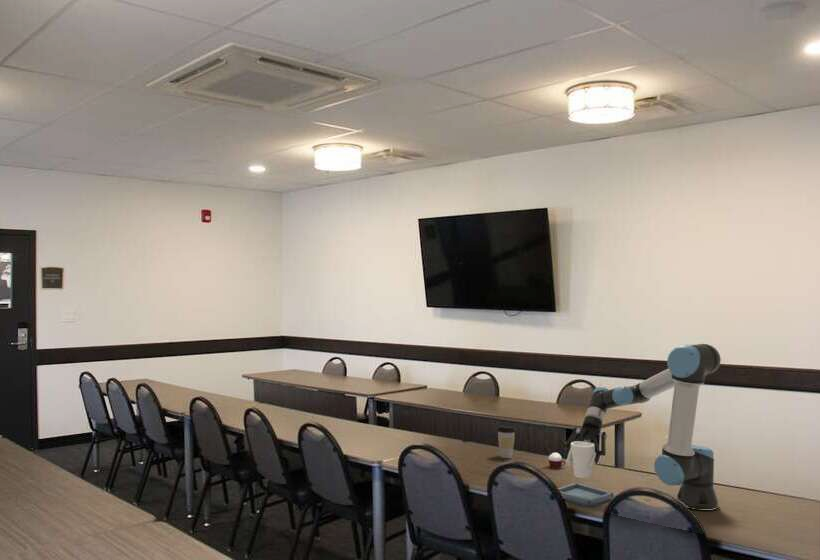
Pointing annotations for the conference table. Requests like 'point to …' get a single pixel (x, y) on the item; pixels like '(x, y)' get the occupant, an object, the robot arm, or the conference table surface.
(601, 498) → the tray
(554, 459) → the cocoa
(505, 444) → the coffee cup
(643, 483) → the conference table surface
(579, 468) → the foam cup
